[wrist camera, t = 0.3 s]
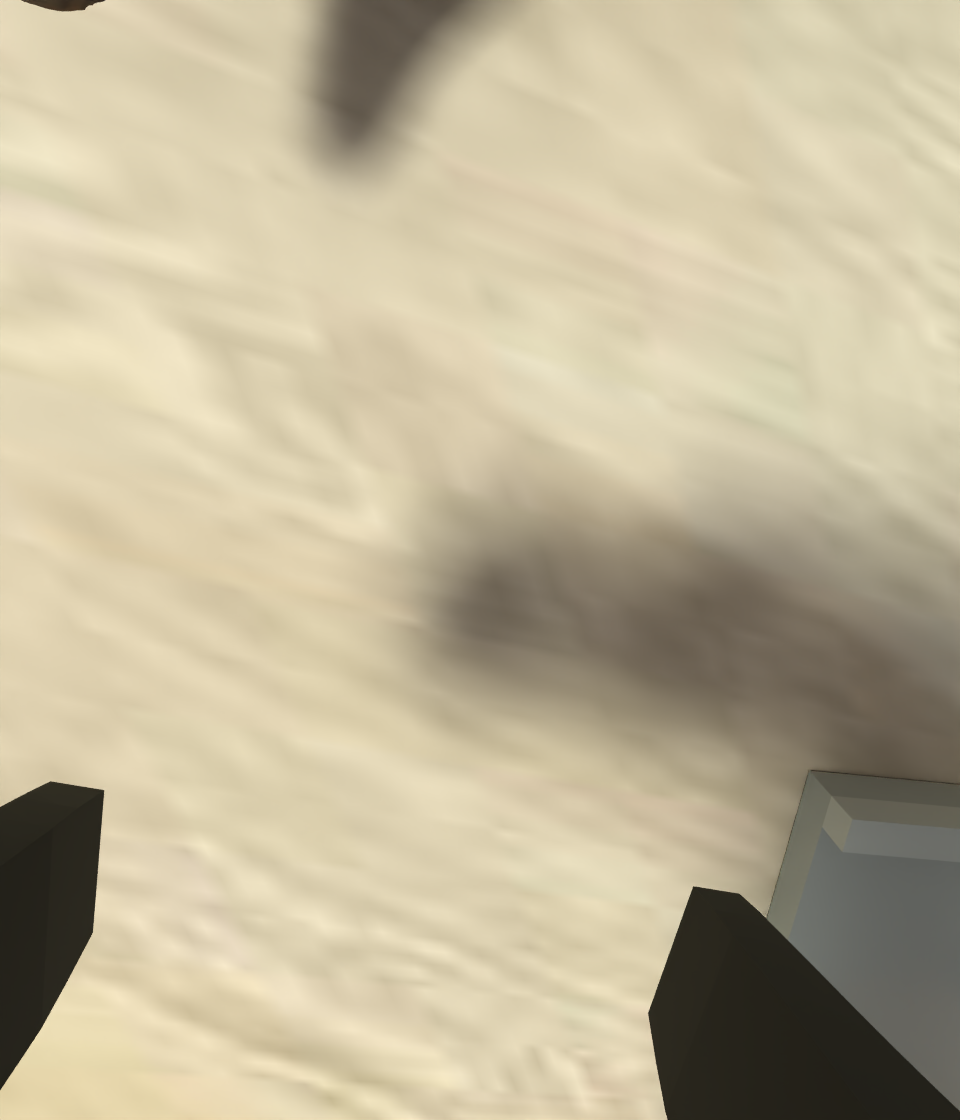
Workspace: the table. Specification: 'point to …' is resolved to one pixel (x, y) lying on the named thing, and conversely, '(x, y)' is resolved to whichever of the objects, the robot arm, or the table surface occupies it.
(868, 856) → the grey tray
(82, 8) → the oil lamp
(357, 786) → the table surface
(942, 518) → the table surface
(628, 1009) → the table surface
